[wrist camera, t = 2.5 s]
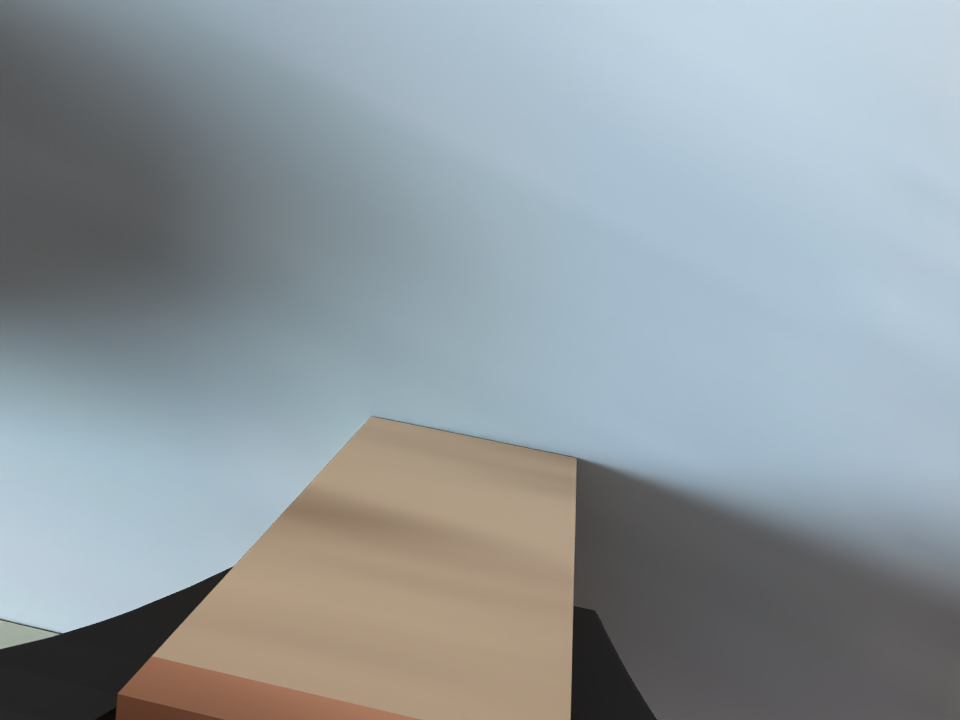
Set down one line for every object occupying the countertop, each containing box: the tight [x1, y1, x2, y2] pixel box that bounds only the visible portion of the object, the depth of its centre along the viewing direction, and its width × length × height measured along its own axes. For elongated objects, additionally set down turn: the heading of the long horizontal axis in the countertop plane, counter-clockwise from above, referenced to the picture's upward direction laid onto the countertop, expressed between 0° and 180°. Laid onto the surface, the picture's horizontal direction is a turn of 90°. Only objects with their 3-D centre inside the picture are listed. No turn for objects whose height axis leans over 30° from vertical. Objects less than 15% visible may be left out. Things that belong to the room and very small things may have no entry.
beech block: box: [116, 416, 577, 720], centre depth 10 cm, size 5×4×8 cm
